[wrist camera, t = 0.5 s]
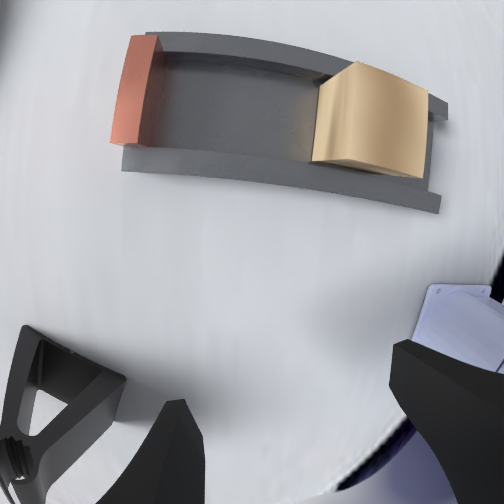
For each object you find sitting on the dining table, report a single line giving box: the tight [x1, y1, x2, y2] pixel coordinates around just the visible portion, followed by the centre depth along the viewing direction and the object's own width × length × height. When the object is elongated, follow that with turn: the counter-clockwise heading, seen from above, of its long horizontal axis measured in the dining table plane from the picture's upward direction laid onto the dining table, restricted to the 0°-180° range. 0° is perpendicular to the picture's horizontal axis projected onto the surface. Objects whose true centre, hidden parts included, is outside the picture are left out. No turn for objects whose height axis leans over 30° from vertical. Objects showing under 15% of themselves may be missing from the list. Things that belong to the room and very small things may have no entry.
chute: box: [110, 32, 448, 214], centre depth 13 cm, size 18×7×4 cm, turn 83°
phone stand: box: [0, 325, 126, 504], centre depth 12 cm, size 9×6×12 cm, turn 62°
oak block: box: [312, 61, 428, 179], centre depth 13 cm, size 4×4×4 cm
